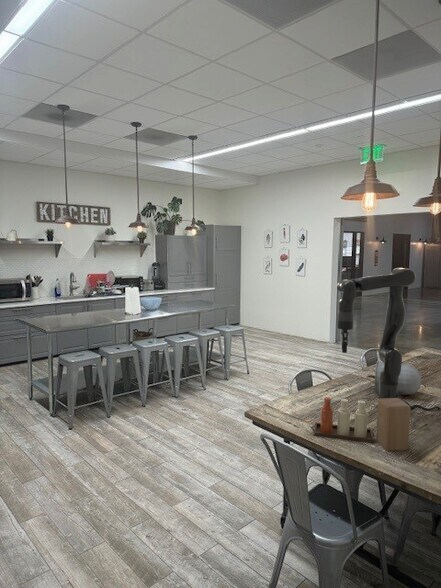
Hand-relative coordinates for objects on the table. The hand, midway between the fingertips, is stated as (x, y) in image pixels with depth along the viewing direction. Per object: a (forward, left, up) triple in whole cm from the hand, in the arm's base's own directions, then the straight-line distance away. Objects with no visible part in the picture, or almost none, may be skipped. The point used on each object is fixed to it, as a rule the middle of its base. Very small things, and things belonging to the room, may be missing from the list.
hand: (344, 350), depth 203 cm
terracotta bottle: (+8, +26, -33) cm, 42 cm away
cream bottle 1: (0, +26, -33) cm, 42 cm away
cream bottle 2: (-8, +26, -33) cm, 42 cm away
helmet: (-30, -38, -33) cm, 59 cm away
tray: (0, +26, -33) cm, 42 cm away
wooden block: (-20, +31, -33) cm, 50 cm away
